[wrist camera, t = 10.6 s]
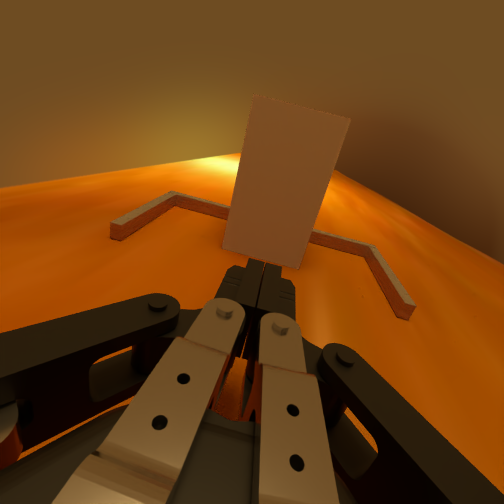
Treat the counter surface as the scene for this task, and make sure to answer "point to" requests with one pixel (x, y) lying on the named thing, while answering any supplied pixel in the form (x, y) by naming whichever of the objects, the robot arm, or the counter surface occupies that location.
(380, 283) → the metal staple
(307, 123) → the carton
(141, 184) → the counter surface
